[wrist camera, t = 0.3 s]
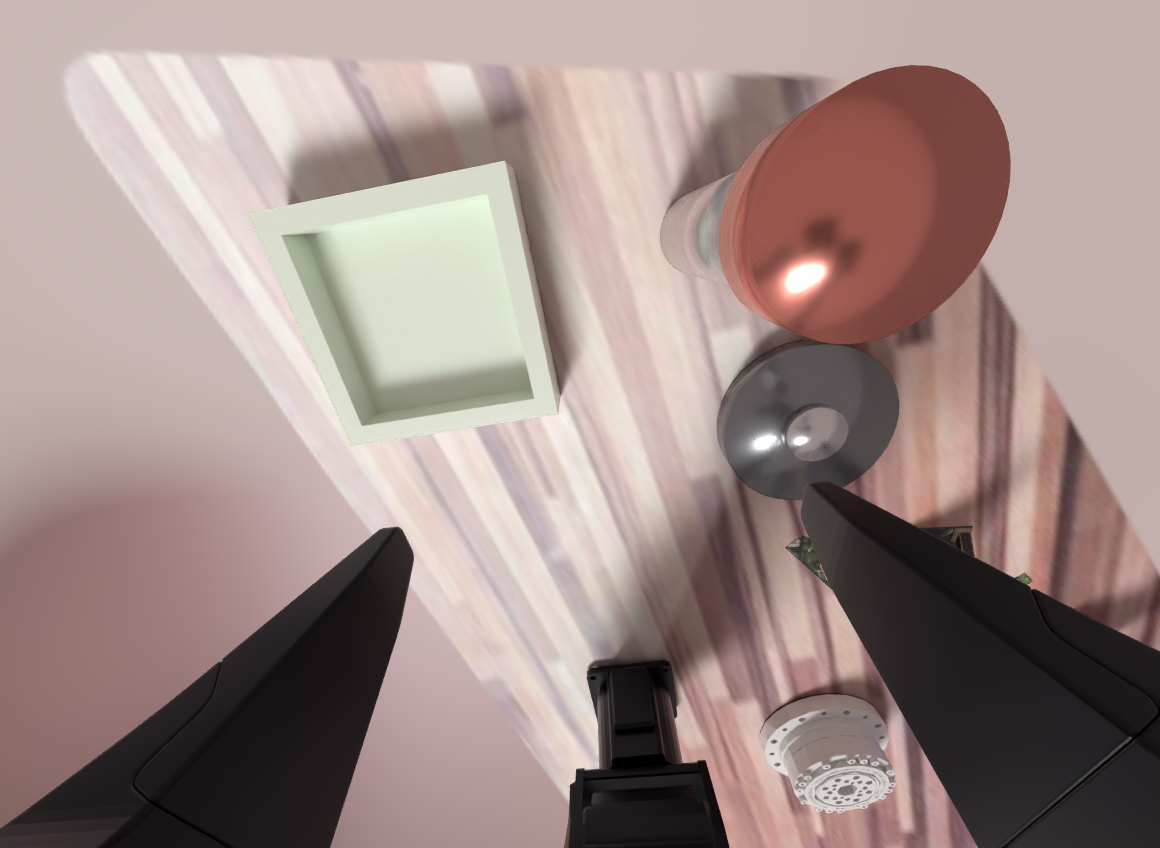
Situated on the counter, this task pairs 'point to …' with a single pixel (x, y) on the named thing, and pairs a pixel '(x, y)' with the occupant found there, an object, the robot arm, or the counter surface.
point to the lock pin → (854, 208)
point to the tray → (417, 303)
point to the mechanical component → (830, 751)
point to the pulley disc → (807, 417)
